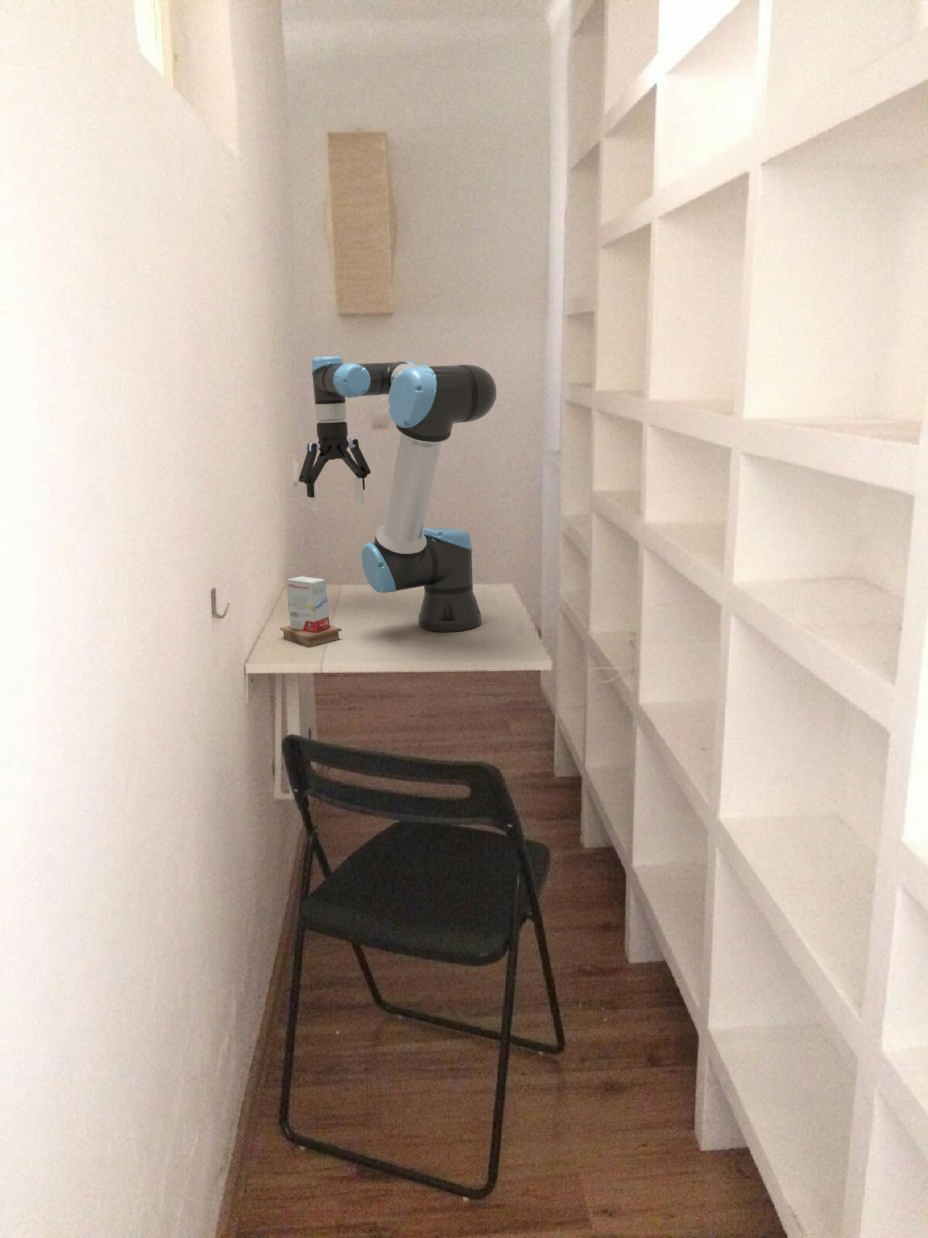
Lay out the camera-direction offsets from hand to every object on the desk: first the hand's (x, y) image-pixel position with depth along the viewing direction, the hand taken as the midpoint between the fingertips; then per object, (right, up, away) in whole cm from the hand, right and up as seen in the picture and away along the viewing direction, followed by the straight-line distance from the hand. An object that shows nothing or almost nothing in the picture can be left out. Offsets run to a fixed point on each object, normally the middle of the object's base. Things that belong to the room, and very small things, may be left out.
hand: (337, 506), depth 244 cm
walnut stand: (-4, -33, -19) cm, 38 cm away
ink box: (-4, -31, -19) cm, 37 cm away
